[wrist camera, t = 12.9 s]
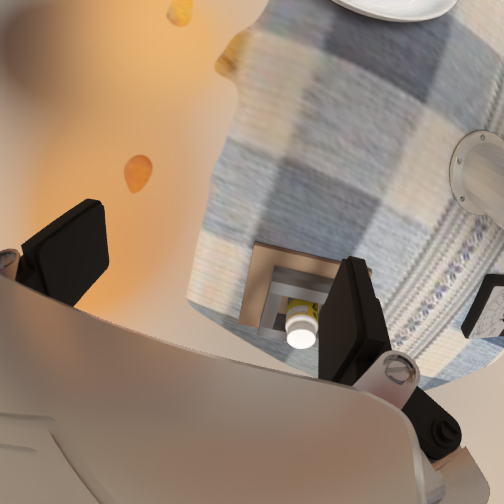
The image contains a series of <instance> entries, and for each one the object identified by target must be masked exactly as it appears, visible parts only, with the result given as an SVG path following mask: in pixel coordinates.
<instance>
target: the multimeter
mask: <svg viewBox="0 0 504 504" xmlns="http://www.w3.org/2000/svg"><path fill="white" fill-rule="evenodd" d="M461 330H462V332H463V335H464V336H465V338H467V339H474V338H487V337H498V336H504V275H497V274H486V275H485V277H484V279H483V282H482V284H481V287H480V289H479V291H478V293H477V296H476V298H475V300H474V302H473V304H472V306H471V308H470V310H469V312H468V314H467V316H466V318H465V320H464V322H463V324H462V326H461Z"/></svg>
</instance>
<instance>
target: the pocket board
mask: <svg viewBox="0 0 504 504" xmlns="http://www.w3.org/2000/svg"><path fill="white" fill-rule="evenodd" d="M340 264H341V262H340V261H335V260H331V259H327V258H323V257H319V256H314V255H310V254H306V253H302V252H297V251H293V250H289V249H285V248H280V247H276V246H272V245H268V244H263V243H259V242H255V244H254V249H253V254H252V258H251V263H250V268H249V273H248V278H247V283H246V288H245V293H244V298H243V303H242V308H241V312H240V317H239V322H238V323H240V324H244V325H248V326H252V327H257V328H258V333H257V335H260V336H265V337H269V338H274V339H278V340H283V341H287V331H286V328H285V324H286V315H287V304H288V298H289V297H292V298H296V299H301V300H306V301H310V302H315V303H318V321H319V316H320V313H321V310H322V308H323V306H324V303H325V301H326V299H327V296H328V294H329V291H330V289H331V286H332V284H333V281H334V279H335V276H336V274H337V271H338V269H339V266H340ZM367 269H368V272H369V275H370V277H371V275H372V270H371V269H369V268H367ZM312 346H313V347H318V348H319V339H318V330H317V333H316V340H315V343H314V344H313V345H312Z"/></svg>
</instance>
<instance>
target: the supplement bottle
mask: <svg viewBox="0 0 504 504" xmlns="http://www.w3.org/2000/svg"><path fill="white" fill-rule="evenodd" d="M285 328H286V331H287V342H288V343H289V344H290V345H291V346H292V347H294V348H299V349H304V348H308V347H310V346H312V345H313V344H314V343H315V340H316V333H317V330H318V303H315V302H310V301H306V300H301V299H296V298H292V297H289V298H288V304H287V315H286V324H285Z"/></svg>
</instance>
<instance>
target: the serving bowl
mask: <svg viewBox="0 0 504 504" xmlns="http://www.w3.org/2000/svg"><path fill="white" fill-rule="evenodd" d="M332 1H333V2H335V3H337V4H339V5H341V6H343V7H345V8H347V9H349V10H352V11H354V12H357V13H359V14H362V15H365V16H369V17H372V18H376V19H380V20H386V21H394V22H417V21H424V20H430V19H433V18H436V17H439V16H441V15H443V14H445V13H446V12H448V11H449V10H450V9H451V8H452V7H453V6H454V5H455V4H456V2H457V1H458V0H332Z"/></svg>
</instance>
